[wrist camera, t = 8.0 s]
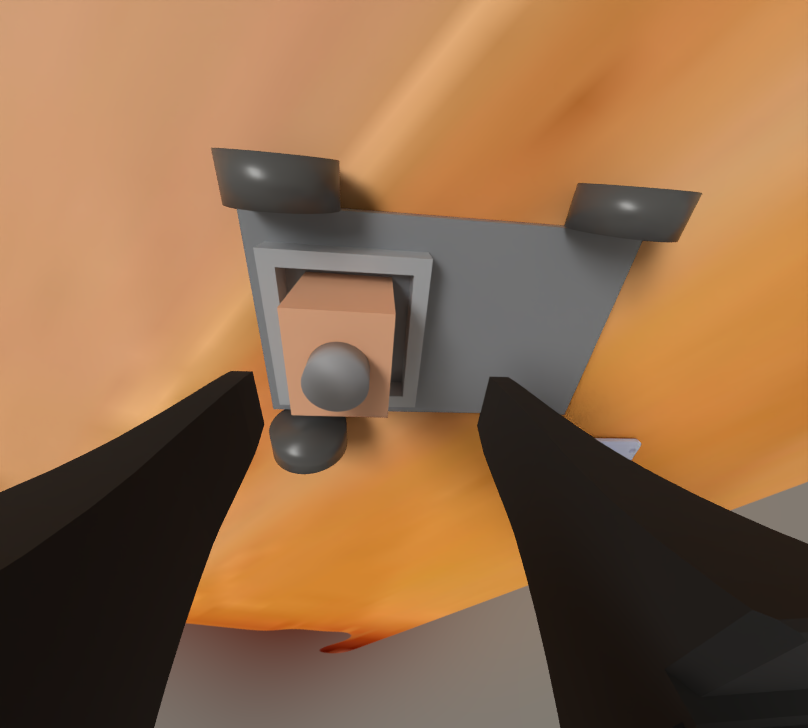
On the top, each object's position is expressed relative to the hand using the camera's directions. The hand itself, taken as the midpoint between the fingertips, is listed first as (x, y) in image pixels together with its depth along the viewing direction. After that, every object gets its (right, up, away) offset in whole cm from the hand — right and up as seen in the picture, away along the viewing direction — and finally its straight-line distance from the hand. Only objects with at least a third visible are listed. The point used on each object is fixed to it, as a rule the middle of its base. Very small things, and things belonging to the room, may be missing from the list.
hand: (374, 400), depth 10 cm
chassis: (+3, +3, +9) cm, 10 cm away
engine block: (-2, +4, +8) cm, 9 cm away
